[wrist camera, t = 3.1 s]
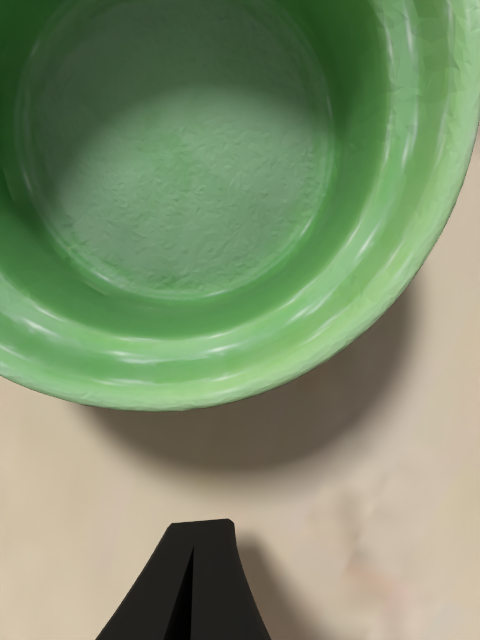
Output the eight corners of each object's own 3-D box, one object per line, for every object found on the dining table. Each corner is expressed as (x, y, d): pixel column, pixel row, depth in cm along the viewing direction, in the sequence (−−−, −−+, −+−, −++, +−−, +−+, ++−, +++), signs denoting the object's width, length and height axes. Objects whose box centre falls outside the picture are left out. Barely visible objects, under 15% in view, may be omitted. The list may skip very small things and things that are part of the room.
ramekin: (459, 152, 10) (632, 97, 6) (183, 409, 11) (152, 526, 7) (175, -200, 8) (112, -647, 4) (-104, 144, 10) (-374, 81, 5)
